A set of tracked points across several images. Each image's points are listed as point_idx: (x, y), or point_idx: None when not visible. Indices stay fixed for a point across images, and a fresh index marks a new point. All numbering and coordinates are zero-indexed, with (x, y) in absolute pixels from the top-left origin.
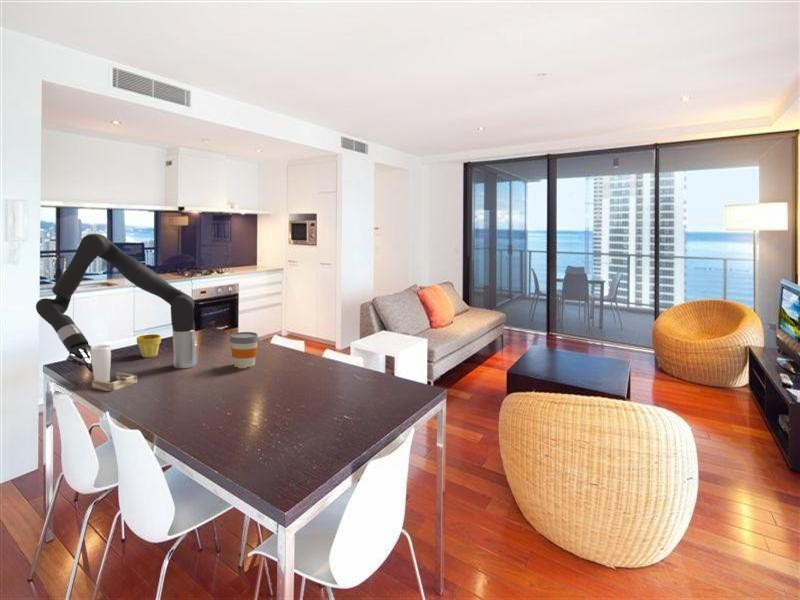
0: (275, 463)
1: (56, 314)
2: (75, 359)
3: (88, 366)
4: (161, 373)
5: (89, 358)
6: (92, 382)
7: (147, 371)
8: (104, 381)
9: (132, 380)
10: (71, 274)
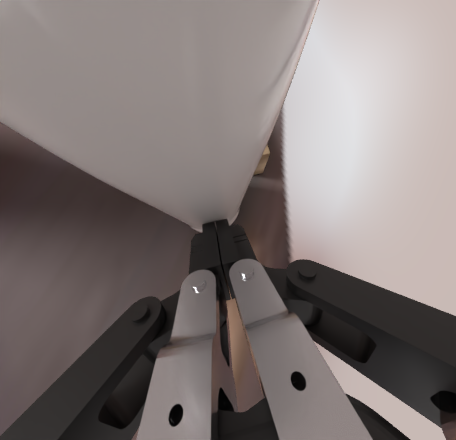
0: None
1: None
2: (434, 313)
3: (252, 251)
4: (12, 145)
5: (218, 321)
6: (267, 157)
7: (13, 211)
8: None
9: None
10: None
